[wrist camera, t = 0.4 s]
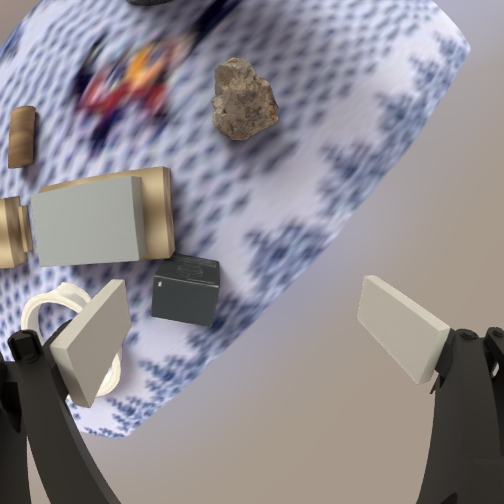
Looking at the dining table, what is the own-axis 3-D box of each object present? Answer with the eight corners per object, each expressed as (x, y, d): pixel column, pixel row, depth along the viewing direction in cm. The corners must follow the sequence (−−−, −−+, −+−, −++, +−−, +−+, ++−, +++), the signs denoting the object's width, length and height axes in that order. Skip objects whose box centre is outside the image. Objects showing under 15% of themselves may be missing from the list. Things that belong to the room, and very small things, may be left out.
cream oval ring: (111, 405, 46) (106, 420, 42) (30, 357, 42) (20, 368, 37) (148, 307, 42) (141, 321, 37) (44, 247, 37) (29, 254, 32)
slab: (45, 193, 30) (30, 195, 26) (140, 176, 32) (131, 176, 28) (54, 259, 33) (40, 267, 29) (147, 252, 34) (139, 260, 30)
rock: (220, 144, 39) (266, 158, 33) (168, 98, 30) (211, 98, 24) (251, 102, 39) (300, 108, 33) (209, 53, 30) (258, 46, 24)
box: (164, 286, 41) (149, 317, 31) (169, 251, 40) (153, 274, 30) (213, 294, 42) (212, 328, 32) (219, 260, 41) (220, 286, 31)
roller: (22, 116, 30) (6, 113, 25) (40, 108, 31) (24, 103, 26) (20, 168, 33) (3, 168, 28) (38, 162, 33) (20, 161, 28)
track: (-24, 209, 32) (-56, 217, 22) (169, 168, 37) (152, 163, 27) (-16, 264, 35) (-46, 279, 25) (175, 249, 40) (161, 270, 30)
